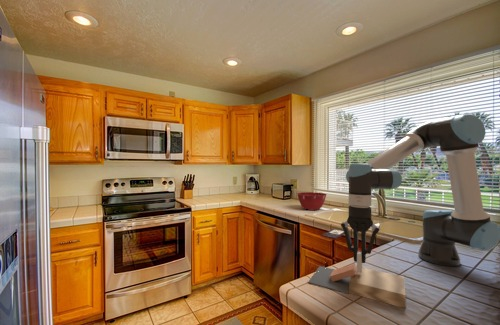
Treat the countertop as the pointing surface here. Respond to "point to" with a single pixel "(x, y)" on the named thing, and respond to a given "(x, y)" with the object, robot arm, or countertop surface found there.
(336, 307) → the countertop surface
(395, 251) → the countertop surface
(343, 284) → the mat
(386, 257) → the countertop surface
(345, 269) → the tile
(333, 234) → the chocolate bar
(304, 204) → the mixing bowl
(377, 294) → the board
